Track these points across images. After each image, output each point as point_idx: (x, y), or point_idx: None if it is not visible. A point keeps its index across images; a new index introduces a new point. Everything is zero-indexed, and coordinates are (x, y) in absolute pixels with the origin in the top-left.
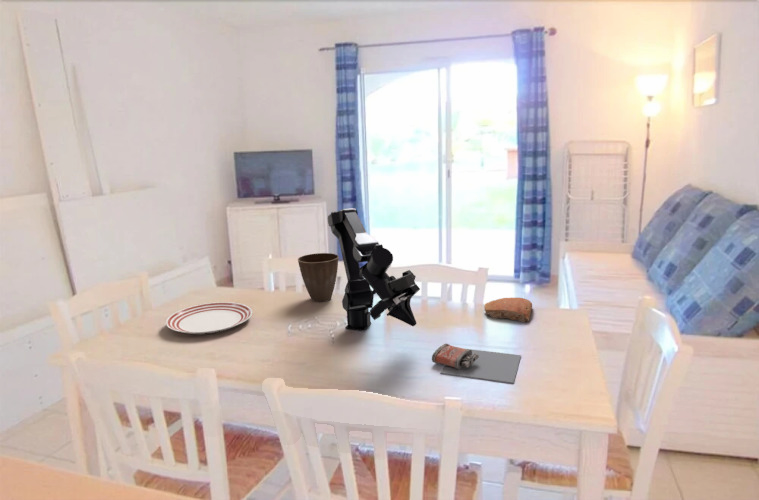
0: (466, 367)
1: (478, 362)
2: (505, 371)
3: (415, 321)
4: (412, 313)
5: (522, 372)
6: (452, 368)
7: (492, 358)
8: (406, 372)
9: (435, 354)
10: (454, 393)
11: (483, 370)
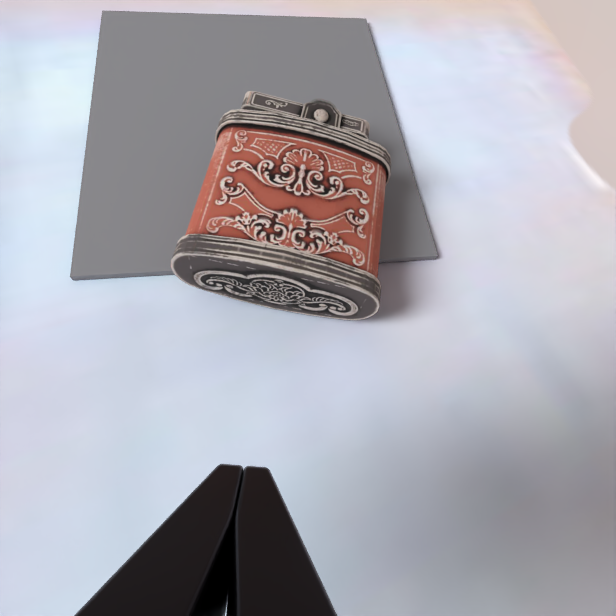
0: None
1: None
2: (289, 42)
3: (215, 482)
4: (109, 598)
5: (260, 7)
6: None
7: (175, 90)
8: (530, 436)
9: (369, 276)
10: (554, 164)
11: None
